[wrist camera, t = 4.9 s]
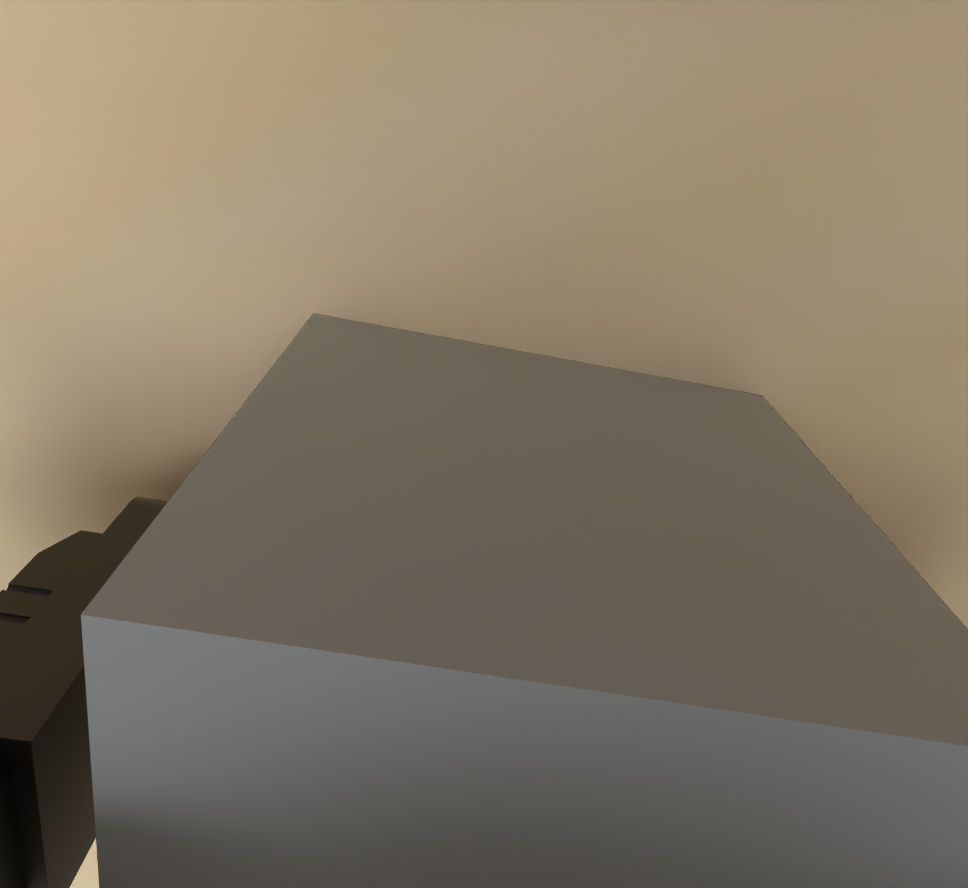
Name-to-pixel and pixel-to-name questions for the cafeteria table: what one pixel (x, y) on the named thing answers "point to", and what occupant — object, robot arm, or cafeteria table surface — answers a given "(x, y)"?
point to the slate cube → (518, 644)
